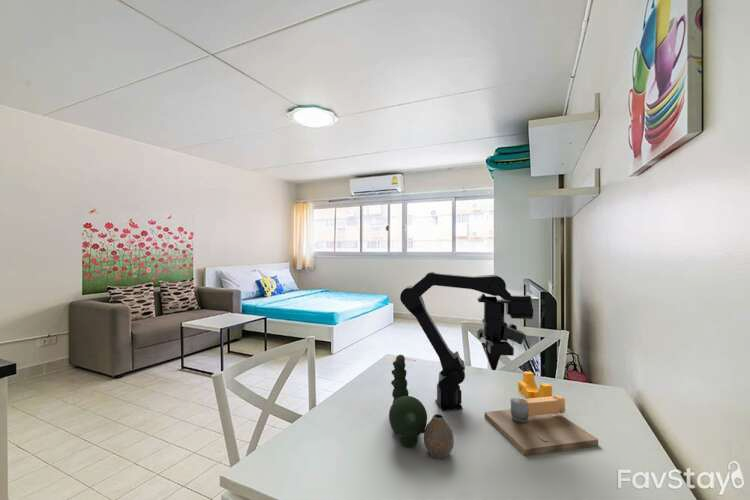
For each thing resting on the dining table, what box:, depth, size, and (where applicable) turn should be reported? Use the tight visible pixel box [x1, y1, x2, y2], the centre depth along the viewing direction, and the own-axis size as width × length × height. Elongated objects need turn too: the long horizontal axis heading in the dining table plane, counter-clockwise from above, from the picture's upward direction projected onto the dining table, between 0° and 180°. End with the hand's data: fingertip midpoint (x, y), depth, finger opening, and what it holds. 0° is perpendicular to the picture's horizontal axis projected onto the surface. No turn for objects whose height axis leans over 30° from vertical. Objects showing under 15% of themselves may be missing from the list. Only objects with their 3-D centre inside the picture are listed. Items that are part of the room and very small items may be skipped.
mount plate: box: [484, 408, 599, 457], centre depth 88 cm, size 20×18×3 cm
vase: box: [423, 413, 455, 459], centre depth 79 cm, size 7×7×9 cm
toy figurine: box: [388, 354, 428, 448], centre depth 88 cm, size 9×19×25 cm
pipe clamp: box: [517, 370, 553, 399], centre depth 107 cm, size 12×4×6 cm, turn 4°
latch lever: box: [510, 395, 566, 419], centre depth 91 cm, size 16×4×4 cm, turn 101°
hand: (493, 369), depth 99 cm, fingers closed
